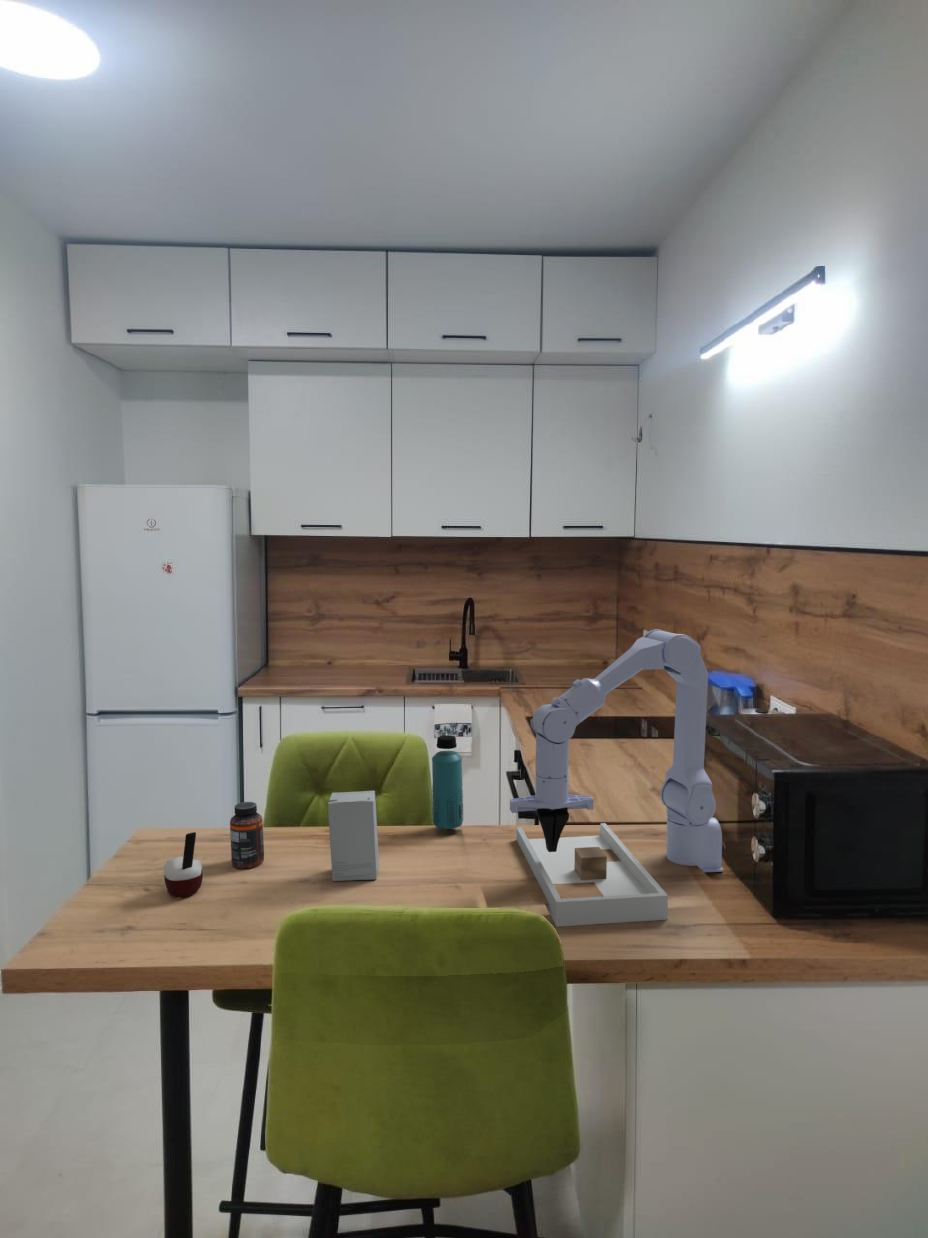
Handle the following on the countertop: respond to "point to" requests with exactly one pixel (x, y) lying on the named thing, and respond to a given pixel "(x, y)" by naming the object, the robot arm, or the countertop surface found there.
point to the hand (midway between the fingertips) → (551, 849)
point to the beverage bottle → (447, 785)
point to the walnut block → (590, 863)
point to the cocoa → (184, 871)
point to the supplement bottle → (246, 836)
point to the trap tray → (623, 889)
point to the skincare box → (353, 836)
